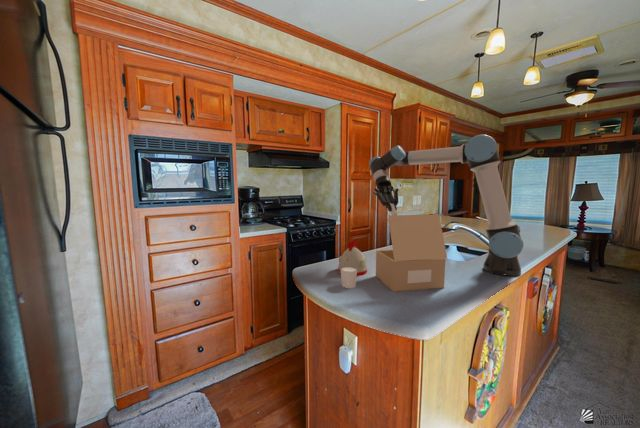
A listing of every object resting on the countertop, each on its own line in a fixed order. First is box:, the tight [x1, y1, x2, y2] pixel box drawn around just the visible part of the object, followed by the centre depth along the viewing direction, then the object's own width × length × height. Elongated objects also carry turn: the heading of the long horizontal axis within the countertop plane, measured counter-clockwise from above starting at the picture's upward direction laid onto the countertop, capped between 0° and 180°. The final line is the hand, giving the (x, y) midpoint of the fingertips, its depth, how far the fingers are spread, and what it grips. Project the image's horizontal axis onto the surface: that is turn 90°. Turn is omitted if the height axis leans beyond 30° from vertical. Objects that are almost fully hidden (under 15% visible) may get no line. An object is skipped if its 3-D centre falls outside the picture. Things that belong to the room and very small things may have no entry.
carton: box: [375, 249, 446, 293], centre depth 113 cm, size 18×22×12 cm
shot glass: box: [340, 267, 358, 289], centre depth 109 cm, size 7×7×7 cm
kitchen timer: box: [337, 240, 368, 277], centre depth 127 cm, size 14×14×15 cm
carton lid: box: [387, 214, 448, 261], centre depth 106 cm, size 18×22×1 cm
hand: (395, 216), depth 123 cm, fingers closed
